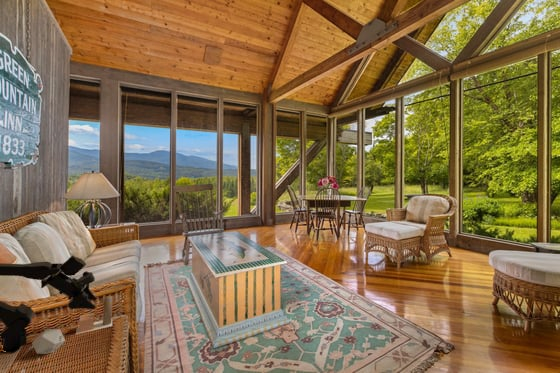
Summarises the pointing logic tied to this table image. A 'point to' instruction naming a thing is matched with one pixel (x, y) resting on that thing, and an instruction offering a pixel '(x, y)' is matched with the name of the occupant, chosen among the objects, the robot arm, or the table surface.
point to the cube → (86, 322)
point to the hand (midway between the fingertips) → (95, 303)
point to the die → (48, 341)
